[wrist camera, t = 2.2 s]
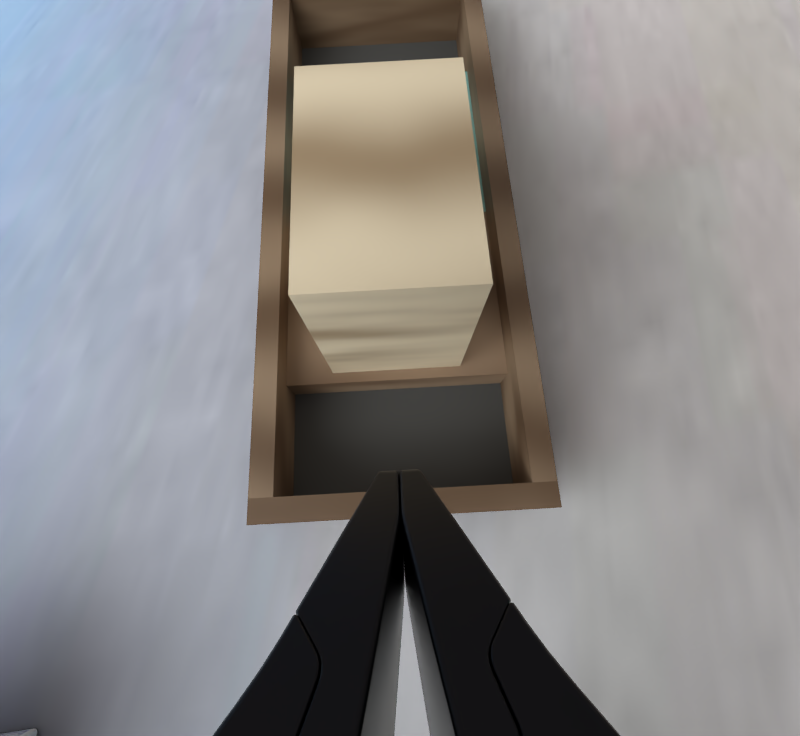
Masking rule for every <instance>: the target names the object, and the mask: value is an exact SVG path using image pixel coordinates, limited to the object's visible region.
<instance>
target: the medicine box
mask: <svg viewBox="0 0 800 736" xmlns="http://www.w3.org/2000/svg"><path fill="white" fill-rule="evenodd" d="M0 736H37V729H28V730H22V731H16V732H10V733H3V734H0Z"/></svg>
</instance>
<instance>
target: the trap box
mask: <svg viewBox="0 0 800 736" xmlns="http://www.w3.org/2000/svg"><path fill="white" fill-rule="evenodd" d="M459 57H463V61H464V69H465V76H466V84H467V91H468V99H469V106H470V114H471V121H472V129H473V136H474V144H475V151H476V159H477V167H478V174H479V182H480V189H481V197H482V204H483V212H484V219H485V227H486V234H487V242H488V249H489V257H490V264H491V272H492V279H493V285H492V288H491V290H490V293H489V295H488V298H487V300H486V303H485V305H484V308H483V310H482V313H481V315H480V318H479V320H478V323H477V325H476V328H475V330H474V333H473V335H472V338H471V340H470V343H469V345H468V348H467V350H466V353H465V355H464V358H463V360H462V363H461V365H460V366H452V367H434V368H416V369H398V370H380V371H362V372H344V373H333V372H332V370H331V368H330V367H329V365H328V363H327V361H326V360H325V358H324V356H323V355H322V353H321V351H320V349H319V348H318V346H317V344H316V342H315V341H314V339H313V337H312V335H311V334H310V332H309V330H308V328H307V327H306V325H305V323H304V322H303V320H302V318H301V316H300V315H299V313H298V311H297V309H296V308H295V306H294V304H293V302H292V301H291V299H290V297H289V296H288V286H289V249H290V211H291V174H292V136H293V99H294V66H311V65H330V64H348V63H367V62H385V61H404V60H422V59H441V58H459ZM412 469H418V470H420V471H421V472H422V473H423V475H424V476H425V477H426V479H427V480H428V482H429V483H430V485H431V486H432V487H433V489H434V490H435V492H436V493H437V495H438V496H439V497H440V499H441V500H442V502H443V503H444V505H445V506H446V507H447V509H448V510H449V512H450V513H469V512H487V511H504V510H522V509H540V508H557V507H562V506H561V500H560V494H559V488H558V481H557V475H556V469H555V462H554V456H553V450H552V443H551V437H550V431H549V425H548V418H547V412H546V406H545V399H544V393H543V387H542V381H541V374H540V368H539V362H538V355H537V349H536V343H535V336H534V330H533V324H532V318H531V311H530V305H529V299H528V292H527V286H526V280H525V274H524V267H523V261H522V255H521V248H520V242H519V236H518V229H517V223H516V217H515V211H514V204H513V198H512V192H511V185H510V179H509V173H508V167H507V160H506V154H505V148H504V141H503V135H502V129H501V122H500V116H499V110H498V104H497V97H496V91H495V85H494V78H493V72H492V66H491V60H490V53H489V47H488V41H487V34H486V28H485V22H484V15H483V9H482V3H481V0H273V9H272V29H271V49H270V69H269V89H268V109H267V129H266V149H265V169H264V189H263V209H262V229H261V249H260V269H259V289H258V309H257V329H256V349H255V369H254V389H253V409H252V429H251V449H250V469H249V489H248V509H247V525H257V524H275V523H293V522H310V521H328V520H346V519H351V517H352V515H353V514H354V512H355V510H356V509H357V507H358V505H359V504H360V502H361V500H362V499H363V497H364V495H365V493H366V492H367V490H368V488H369V487H370V485H371V483H372V482H373V480H374V478H375V477H376V475H377V473H378V472H380V471H394V470H395V471H398V472H399V473H400V471H402V470H412ZM399 479H400V478H399Z"/></svg>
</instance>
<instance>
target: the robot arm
mask: <svg viewBox="0 0 800 736" xmlns="http://www.w3.org/2000/svg"><path fill="white" fill-rule="evenodd" d="M399 478H400V479H399ZM404 571H405V582H404ZM405 584H406V592H407V599H408V605H409V611H410V617H411V623H412V629H413V635H414V641H415V647H416V653H417V659H418V665H419V671H420V677H421V683H422V689H423V695H424V701H425V707H426V713H427V719H428V725H429V731H430V736H620V735H619V734H618V732H617V731H616V730H615V729H614V728H613V727H612V725H611V724H610V723H609V722H608V721H607V720H606V719H605V717H604V716H603V715H602V714H601V713H600V712H599V710H598V709H597V708H596V707H595V706H594V705H593V704H592V702H591V701H590V700H589V699H588V698H587V697H586V695H585V694H584V693H583V692H582V691H581V690H580V689H579V687H578V686H577V685H576V684H575V683H574V681H573V680H572V679H571V678H570V677H569V675H568V674H567V673H566V672H565V671H564V669H563V668H562V667H561V666H560V665H559V663H558V662H557V661H556V660H555V658H554V657H553V656H552V655H551V654H550V652H549V651H548V650H547V648H546V647H545V646H544V644H543V643H542V642H541V640H540V639H539V638H538V636H537V635H536V634H535V632H534V631H533V630H532V628H531V627H530V626H529V624H528V623H527V621H526V620H525V619H524V617H523V616H522V614H521V613H520V611H519V610H518V609H517V607H516V606H515V604H514V603H510V602H511V599H510V598H509V596H508V595H507V593H506V592H505V590H504V589H503V588H502V586H501V585H500V583H499V582H498V580H497V579H496V578H495V576H494V575H493V573H492V572H491V570H490V569H489V568H488V566H487V565H486V563H485V562H484V560H483V559H482V557H481V556H480V555H479V553H478V552H477V550H476V549H475V547H474V546H473V545H472V543H471V542H470V540H469V539H468V537H467V536H466V535H465V533H464V532H463V530H462V529H461V527H460V526H459V525H458V523H457V522H456V520H455V519H454V517H453V516H452V515H451V513H450V512H449V510H448V509H447V507H446V506H445V505H444V503H443V502H442V500H441V499H440V497H439V496H438V495H437V493H436V492H435V490H434V489H433V487H432V486H431V485H430V483H429V482H428V480H427V479H426V477H425V476H424V475H423V473H422V472H421V471H420V470H418V469H412V470H402V471H400V473H399V472H398V471H395V470H394V471H380V472H378V473H377V475H376V477H375V478H374V480H373V482H372V483H371V485H370V487H369V488H368V490H367V492H366V493H365V495H364V497H363V499H362V500H361V502H360V504H359V505H358V507H357V509H356V510H355V512H354V514H353V515H352V517H351V519H350V521H349V522H348V524H347V526H346V527H345V529H344V531H343V532H342V534H341V536H340V537H339V539H338V541H337V543H336V544H335V546H334V548H333V549H332V551H331V553H330V554H329V556H328V558H327V559H326V561H325V563H324V565H323V566H322V568H321V570H320V571H319V573H318V575H317V576H316V578H315V580H314V582H313V583H312V585H311V587H310V588H309V590H308V592H307V593H306V595H305V597H304V598H303V600H302V602H301V604H300V605H299V607H298V609H297V610H296V615H294V616H293V617H292V618H291V620H290V622H289V623H288V625H287V627H286V629H285V630H284V632H283V634H282V635H281V637H280V639H279V640H278V642H277V643H276V645H275V647H274V648H273V650H272V651H271V653H270V655H269V656H268V658H267V659H266V661H265V662H264V664H263V666H262V667H261V669H260V670H259V672H258V673H257V675H256V676H255V677H254V679H253V680H252V682H251V683H250V685H249V686H248V687H247V689H246V690H245V692H244V693H243V695H242V696H241V697H240V699H239V700H238V702H237V703H236V705H235V706H234V707H233V709H232V710H231V711H230V713H229V714H228V716H227V717H226V718H225V720H224V721H223V722H222V724H221V725H220V726H219V728H218V729H217V731H216V732H215V733H214V735H213V736H394V731H395V717H396V703H397V689H398V675H399V661H400V647H401V633H402V619H403V605H404V587H405Z"/></svg>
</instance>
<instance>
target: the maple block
mask: <svg viewBox="0 0 800 736" xmlns="http://www.w3.org/2000/svg"><path fill="white" fill-rule="evenodd" d="M492 285H493V279H492V272H491V264H490V257H489V249H488V242H487V234H486V227H485V219H484V212H483V204H482V197H481V189H480V182H479V174H478V167H477V159H476V151H475V144H474V136H473V129H472V121H471V114H470V106H469V99H468V91H467V84H466V76H465V69H464V61H463V57H459V58H441V59H422V60H404V61H385V62H367V63H348V64H330V65H311V66H294V99H293V136H292V174H291V211H290V249H289V286H288V296H289V297H290V299H291V301H292V302H293V304H294V306H295V308H296V309H297V311H298V313H299V315H300V316H301V318H302V320H303V322H304V323H305V325H306V327H307V328H308V330H309V332H310V334H311V335H312V337H313V339H314V341H315V342H316V344H317V346H318V348H319V349H320V351H321V353H322V355H323V356H324V358H325V360H326V361H327V363H328V365H329V367H330V368H331V370H332V372H333V373H344V372H362V371H380V370H398V369H416V368H434V367H452V366H460V365H461V363H462V360H463V358H464V355H465V353H466V350H467V348H468V345H469V343H470V340H471V338H472V335H473V333H474V330H475V328H476V325H477V323H478V320H479V318H480V315H481V313H482V310H483V308H484V305H485V303H486V300H487V298H488V295H489V293H490V290H491V288H492Z"/></svg>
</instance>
